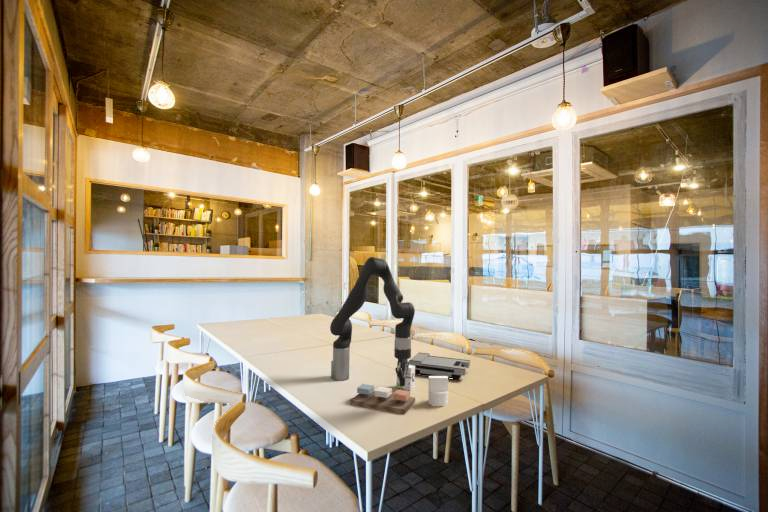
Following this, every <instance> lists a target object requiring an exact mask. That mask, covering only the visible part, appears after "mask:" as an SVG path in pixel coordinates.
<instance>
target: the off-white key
mask: <svg viewBox="0 0 768 512" xmlns="http://www.w3.org/2000/svg"><path fill="white" fill-rule="evenodd" d="M374 391H375V396H378V397H384V398H388V397H389V396H390V395H391V394H393V388H392V387H391V388H390V387H384V386H379V387H377V388H376V389H374Z"/></svg>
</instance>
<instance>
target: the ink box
mask: <svg viewBox="0 0 768 512" xmlns="http://www.w3.org/2000/svg"><path fill="white" fill-rule="evenodd" d="M396 368H398V366H397V365H396ZM415 386H416V375H415V366H413V365H409V368H408V372H407V374H406V377H405V386H400V377H398V376H397V375H396V389H399V388H400V389H399V390H403V389H405V391H408V390H409V391H410V392H412V391H413V390H415V389H414V388H415ZM411 390H412V391H411Z"/></svg>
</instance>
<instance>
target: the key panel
mask: <svg viewBox="0 0 768 512" xmlns="http://www.w3.org/2000/svg"><path fill="white" fill-rule="evenodd" d="M393 394H394V393H392V394H391V395H390V396H389V397H388V398H384V397H378V396H375V390H374V391H373V392H372V393H371V394H369V395H366V394H360V393H357V394H356V395H354V397H352V398H351V399H350V405H352V406H358V407H363V408H369V409H374V410H379V411H385V412H389V413H390V412H391V413H396V414H400V415H401V414H402V415H405V414H406V413H407V412H408V411H409V410H410V409H411V407H412V406H413V405H414V404H415V403H416V397H412V396H410V397H409V399H408V400H407V401H401V400H395V399H393Z"/></svg>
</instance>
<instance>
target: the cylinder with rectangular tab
mask: <svg viewBox="0 0 768 512" xmlns="http://www.w3.org/2000/svg"><path fill="white" fill-rule="evenodd" d="M427 389H428V392H427V394H428V396H427V397H428V402H427V403H428V404H429V405H430V404H431V405H430V406H432V405H434V406H433V407H436V406H444V405H446V404H447V403H448V404H449V379H448V377H447V376H428V388H427ZM444 407H445V406H444Z"/></svg>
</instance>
